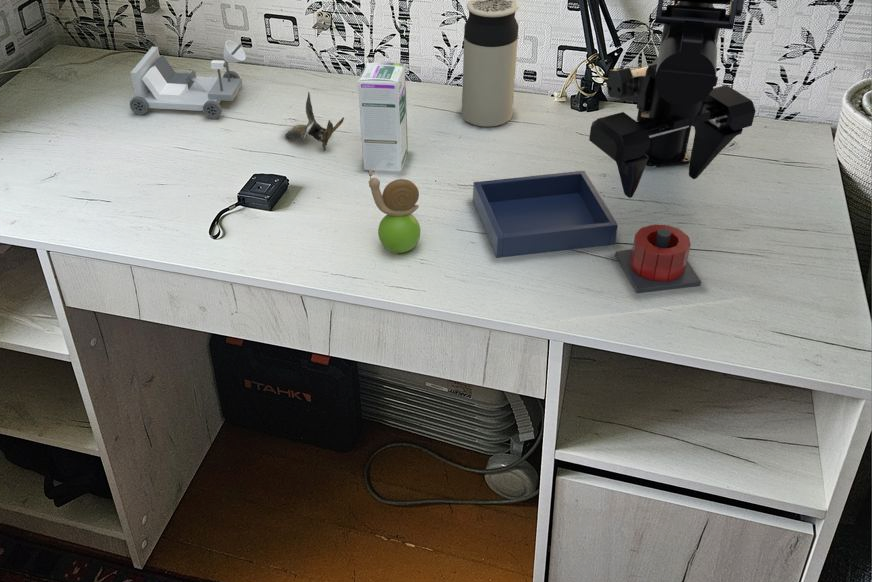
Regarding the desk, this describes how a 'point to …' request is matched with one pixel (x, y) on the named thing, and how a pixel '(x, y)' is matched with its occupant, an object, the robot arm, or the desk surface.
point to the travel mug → (489, 62)
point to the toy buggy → (184, 84)
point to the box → (543, 214)
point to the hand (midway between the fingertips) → (660, 186)
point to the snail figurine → (397, 213)
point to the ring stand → (648, 285)
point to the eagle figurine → (313, 127)
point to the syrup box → (383, 116)
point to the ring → (660, 254)
